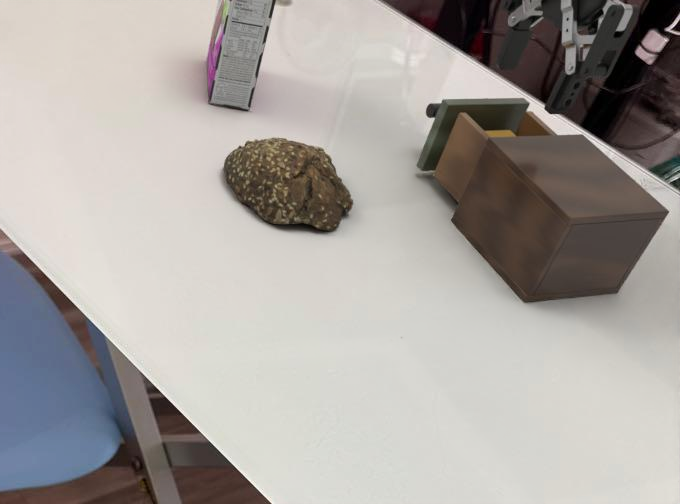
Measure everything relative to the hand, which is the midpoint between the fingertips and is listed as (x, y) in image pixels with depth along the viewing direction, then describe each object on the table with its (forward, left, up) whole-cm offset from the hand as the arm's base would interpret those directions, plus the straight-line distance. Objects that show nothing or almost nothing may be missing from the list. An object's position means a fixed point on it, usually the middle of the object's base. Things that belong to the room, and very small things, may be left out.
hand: (528, 89), depth 94 cm
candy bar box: (+10, -29, -12) cm, 33 cm away
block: (0, 0, -10) cm, 10 cm away
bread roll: (+20, -9, -12) cm, 25 cm away
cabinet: (+4, +10, -12) cm, 15 cm away
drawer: (0, -1, -11) cm, 11 cm away
